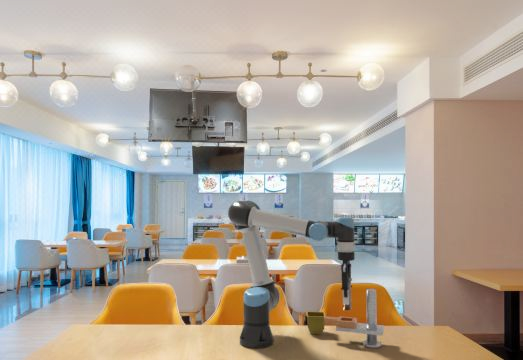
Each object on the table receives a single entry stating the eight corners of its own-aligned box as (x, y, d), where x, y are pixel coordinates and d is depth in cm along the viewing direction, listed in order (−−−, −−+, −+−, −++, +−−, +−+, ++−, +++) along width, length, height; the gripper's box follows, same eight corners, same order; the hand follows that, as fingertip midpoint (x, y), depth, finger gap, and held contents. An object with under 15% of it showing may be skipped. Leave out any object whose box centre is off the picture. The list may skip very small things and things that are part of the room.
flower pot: (324, 330, 205) (324, 311, 205) (325, 336, 196) (325, 316, 197) (306, 329, 206) (306, 311, 206) (306, 335, 197) (306, 316, 198)
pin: (351, 311, 186) (351, 279, 187) (341, 310, 187) (340, 278, 188) (352, 308, 190) (352, 277, 191) (342, 307, 192) (342, 276, 192)
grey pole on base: (384, 342, 187) (383, 288, 188) (382, 349, 178) (382, 293, 179) (327, 336, 196) (326, 284, 197) (322, 342, 187) (322, 288, 188)
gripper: (351, 253, 181) (352, 308, 180) (356, 249, 197) (357, 299, 195) (334, 252, 184) (335, 306, 182) (340, 248, 199) (341, 298, 198)
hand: (346, 303), depth 189 cm, fingers closed on pin, 3 cm apart
